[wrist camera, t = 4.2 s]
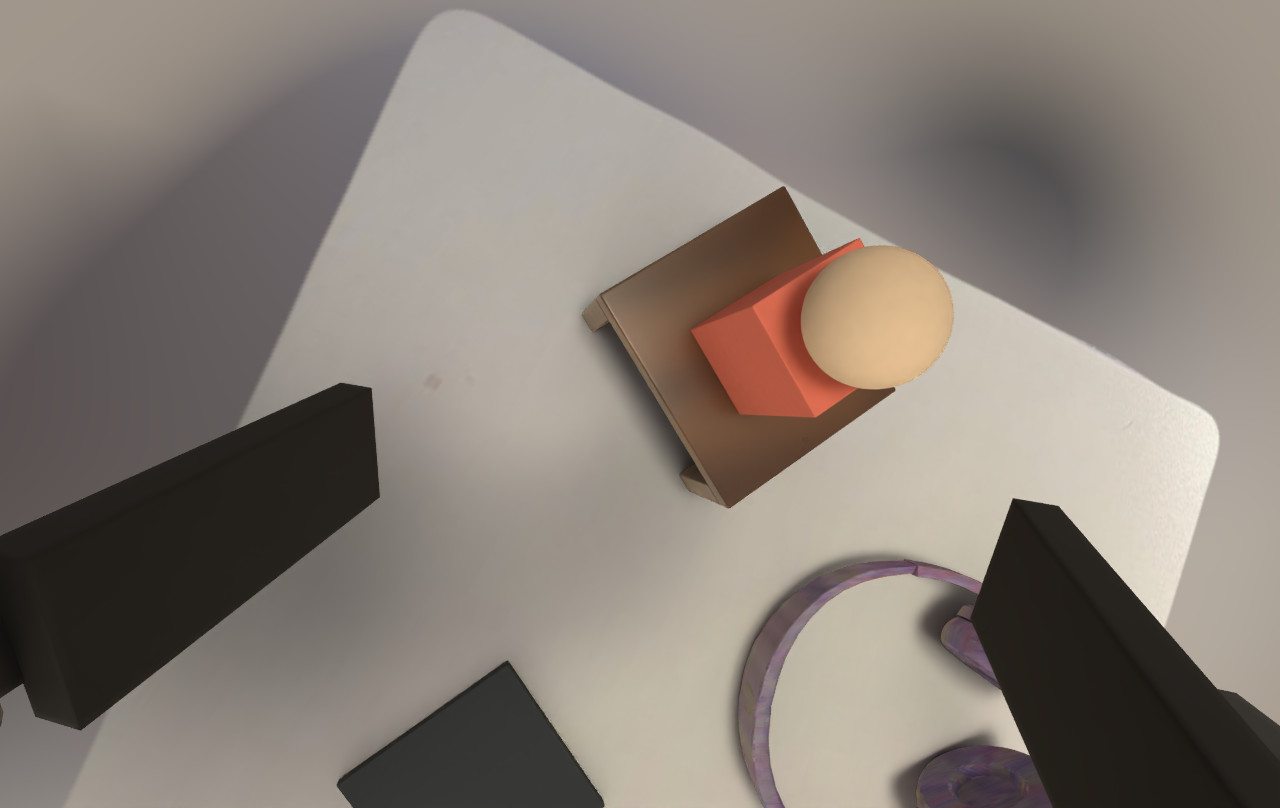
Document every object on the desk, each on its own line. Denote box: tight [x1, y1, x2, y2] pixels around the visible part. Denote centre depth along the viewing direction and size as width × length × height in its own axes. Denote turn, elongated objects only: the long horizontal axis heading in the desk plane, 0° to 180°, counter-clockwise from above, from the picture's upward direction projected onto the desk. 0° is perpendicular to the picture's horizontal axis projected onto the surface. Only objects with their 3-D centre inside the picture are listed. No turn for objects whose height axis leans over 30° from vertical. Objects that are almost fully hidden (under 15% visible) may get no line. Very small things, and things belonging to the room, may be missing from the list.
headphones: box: [738, 559, 1053, 808], centre depth 35 cm, size 18×8×20 cm
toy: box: [691, 238, 954, 417], centre depth 24 cm, size 5×5×12 cm
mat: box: [337, 661, 604, 808], centre depth 32 cm, size 10×10×1 cm
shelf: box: [582, 186, 895, 508], centre depth 33 cm, size 12×11×6 cm
